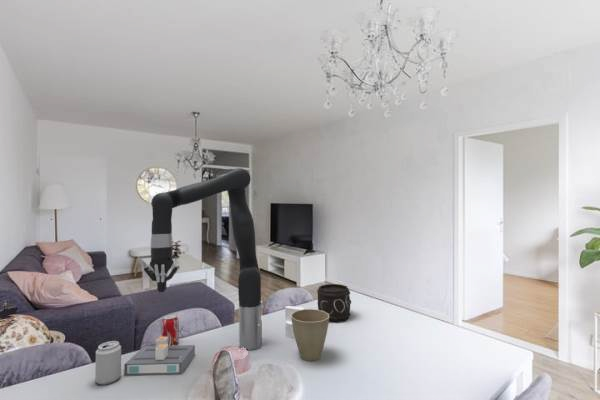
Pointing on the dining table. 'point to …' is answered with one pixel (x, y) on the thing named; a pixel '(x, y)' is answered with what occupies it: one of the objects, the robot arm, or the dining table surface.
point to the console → (160, 361)
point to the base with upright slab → (290, 320)
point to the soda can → (170, 328)
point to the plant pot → (310, 332)
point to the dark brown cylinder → (334, 301)
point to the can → (108, 362)
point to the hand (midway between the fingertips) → (161, 291)
